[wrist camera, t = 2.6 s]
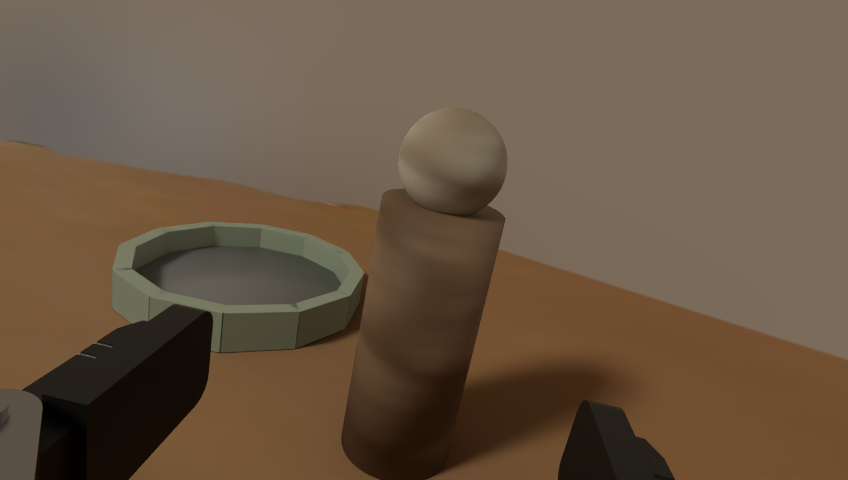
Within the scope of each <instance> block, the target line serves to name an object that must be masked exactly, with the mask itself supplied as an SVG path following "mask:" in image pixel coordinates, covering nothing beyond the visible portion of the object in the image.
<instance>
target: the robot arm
mask: <svg viewBox="0 0 848 480" xmlns="http://www.w3.org/2000/svg"><path fill="white" fill-rule="evenodd" d="M212 331H213V316H212V314H211V312H209V311H205V310H201V309H196V308H192V307H188V306H183V305H179V304H173V305H171V306H170V307H168V308H167V309H165V310H164V311H162V312H161V313H159V314H158V315H156V316H155V317H154V318H152V319H151V320H149V321H144V320H142V321H139V322H136V323H133V324H130V325H127V326H123V327H120V328H117V329H116V330H114V331H112V332H111V333H109V334H108V335H106V336H105V337H103V338H102V339H100V340H99V341H97V344H92V345H91V346H89V347H88V348H86V349H85V350H83V351H82V352H81V354H80V355H75V356H74V357H72V358H71V359H69V360H68V361H66V362H65V363H63V364H61V365H60V366H58V367H57V368H55V369H54V370H52V371H51V372H49V373H48V374H46V375H44V376H43V377H41V378H40V379H38V380H37V381H35V382H34V383H32V384H30V385H29V386H27V387H26V388H24V389H23V390H14V389H0V480H129V478H130V477H131V476H132V475H133V474H134V473H135V472H136V471H137V470H138V469H139V467H140V466H141V465H142V464H143V463H144V462H145V461H146V460H147V459H148V458H149V456H150V455H151V454H152V453H153V452H154V451H155V450H156V449H157V448H158V446H159V445H160V444H161V443H162V442H163V441H164V440H165V439H166V438H167V437H168V435H169V434H170V433H171V432H172V431H173V430H174V429H175V428H176V427H177V426H178V424H179V423H180V422H181V421H182V420H183V419H184V418H185V417H186V416H187V415H188V413H189V412H190V411H191V410H192V409H193V408H194V407H195V406H196V404H197V403H198V402H199V400H200V398H201V396H202V394H203V392H204V390H205V387H206V384H207V380H208V374H209V364H210V353H211V342H212ZM558 480H675V479H674V477H673V475H672V473H671V471H670V469H669V467H668V465H667V463H666V461H665V459H664V458H663V457H662V456H661V455H660V454H659V453H658V452H657V451H656V450H655V449H654V448H653V447H652V446H651V445H650V444H649V443H648V442H647V441H646V440H645V439H643V438H639V437H635V434H634V432H633V430H632V428H631V426H630V424H629V422H628V419H627V417H626V415H625V413H624V411H623V410H622V409H621V408H618V407H614V406H610V405H605V404H601V403H597V402H592V401H588V400H584V401H583V402H582V403H581V404H580V406H579V408H578V411H577V414H576V417H575V420H574V423H573V426H572V429H571V432H570V435H569V438H568V441H567V444H566V447H565V450H564V453H563V456H562V459H561V462H560V466H559V473H558Z"/></svg>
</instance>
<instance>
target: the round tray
mask: <svg viewBox="0 0 848 480" xmlns="http://www.w3.org/2000/svg"><path fill="white" fill-rule="evenodd" d="M363 277H364V272H363V271H362V269H361V268H360V267H359V265H358V264H357V263H356V261H355V260H354V259H353V257H352V256H351V255H350V253H349V252H348V251H346V250H344V249H341V248H339V247H337V246H335V245H333V244H331V243H328V242H326V241H324V240H322V239H320V238H318V237H315V236H313V235H310V234H305V233H301V232H296V231H291V230H287V229H282V228H277V227H273V226H268V225H263V224H243V223H223V222H203V223H195V224H187V225H179V226H171V227H162V228H156V229H154V230H152V231H149V232H147V233H145V234H143V235H140V236H138V237H136V238H133V239H131V240H129V241H126V242H124V243H122V244H120V245H119V247H118V250H117V254H116V257H115V261H114V265H113V268H112V308H113V309H114V310H115V311H117V312H118V313H119V314H120V315H122V316H123V317H124V318H125V319H127V320H128V321H129V322H130V323H132V324H133V323H136V322H139V321H142V320H144V321H149V320H151V319H152V318H154V317H155V316H156V315H158V314H159V313H161V312H162V311H164V310H165V309H167V308H168V307H170V306H171V305H173V304H179V305H183V306H188V307H192V308H196V309H201V310H205V311H209V312H211V314H212V316H213V331H212V342H211V351H214V352H220V351H221V353H225V352H243V351H262V350H281V349H295V348H299V347H301V346H304V345H306V344H309V343H311V342H314V341H316V340H319V339H321V338H324V337H326V336H329V335H331V334H334V333H336V332H339V331H341V330H344V329H345V328H346V327H347V325H348V323H349V321H350V319H351V318H352V316H353V314H354V312H355V310H356V308H357V307H358V305H359V301H360V295H361V289H362V283H363Z"/></svg>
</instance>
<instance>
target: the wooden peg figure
mask: <svg viewBox="0 0 848 480" xmlns="http://www.w3.org/2000/svg"><path fill="white" fill-rule="evenodd" d="M506 171H507V152H506V148H505V145H504V142H503V139H502V137H501V136H500V134H499V132H498V131H497V130H496V128H495V127H494V126H493V125H492V124H491V123H490V122H489V121H488V120H487V119H486V118H484V117H483V116H481V115H479V114H478V113H475V112H473V111H470V110H467V109H461V108H446V109H440V110H437V111H434V112H432V113H429V114H427V115H426V116H424V117H422V118H421V119H420V120H419V121H417V122H416V123H415V124H414V125H413V126H412V128H411V129H410V130H409V132H408V133H407V135H406V137H405V139H404V140H403V143H402V146H401V149H400V153H399V172H400V177H401V181H402V183H403V186H404V188H405V189H393V190H389V191H386V192H384V193H383V195H382V200H381V206H380V211H379V217H378V223H377V229H376V235H375V241H374V247H373V253H372V259H371V265H370V271H369V276H368V282H367V288H366V294H365V300H364V306H363V312H362V318H361V324H360V330H359V336H358V342H357V347H356V353H355V359H354V365H353V371H352V377H351V383H350V389H349V395H348V401H347V407H346V413H345V418H344V424H343V430H342V438H341V441H342V446H343V450H344V452H345V454H346V455H347V457H348V458H349V460H350V461H351V462H352V463H353V464H354V465H355V466H356V467H358V468H359V469H360V470H362V471H363V472H365V473H367V474H369V475H371V476H373V477H375V478H378V479H381V480H424V479H427V478H429V477H431V476H433V475H434V474H436V473H437V472H438V471H439V470H440V469H441V468H442V467H443V465H444V464H445V461H446V459H447V455H448V451H449V447H450V442H451V438H452V434H453V430H454V426H455V422H456V418H457V414H458V410H459V406H460V402H461V398H462V394H463V390H464V386H465V382H466V377H467V373H468V369H469V365H470V361H471V357H472V353H473V349H474V345H475V341H476V337H477V333H478V329H479V325H480V321H481V317H482V313H483V308H484V304H485V300H486V296H487V292H488V288H489V284H490V280H491V276H492V272H493V268H494V264H495V260H496V256H497V252H498V248H499V244H500V239H501V235H502V231H503V227H504V223H505V217H504V216H503V215H502V214H501V213H500V212H498V211H497V210H495V209H493V208H491V207H489V206H487V205H488V204H489V203H490V202H491V201H492V200H493V199H494V198H495V197H496V195H497V194H498V192H499V191H500V189H501V187H502V185H503V183H504V180H505V177H506Z"/></svg>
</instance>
